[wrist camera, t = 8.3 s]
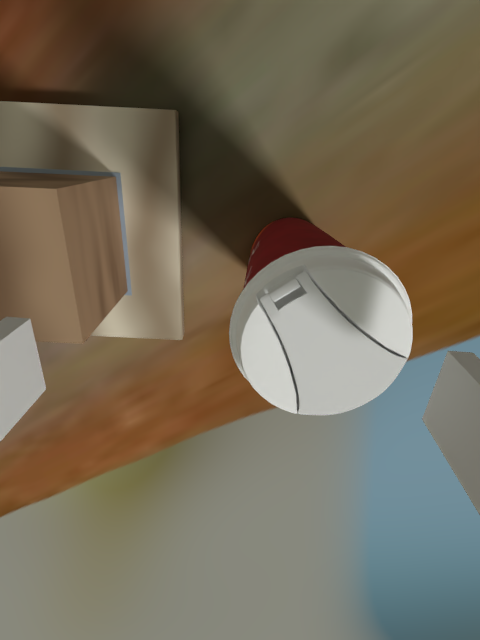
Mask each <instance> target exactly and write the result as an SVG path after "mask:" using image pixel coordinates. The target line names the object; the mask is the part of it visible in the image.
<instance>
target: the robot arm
mask: <svg viewBox="0 0 480 640" xmlns="http://www.w3.org/2000/svg"><path fill="white" fill-rule="evenodd" d="M45 390H46V386H45V382H44V377H43V373H42V369H41V364H40V360H39V355H38V351H37V346H36V342H35V337H34V333H33V329H32V324H31V320H30V318H17V317H5V318H4V319H2V320H1V321H0V441H1V440H2V439H3V438H4V437H5V435H6V434H7V433H8V432H9V431H10V430H11V429H12V427H13V426H14V425H15V424H16V423H17V422H18V421H19V419H20V418H21V417H22V416H23V415H24V414H25V413H26V411H27V410H28V409H29V408H30V407H31V406H32V405H33V403H34V402H35V401H36V400H37V399H38V398H39V397H40V395H41V394H42V393H43V392H44V391H45ZM422 420H423V421H424V423H425V425H426V426H427V428H428V430H429V431H430V433H431V435H432V436H433V438H434V440H435V441H436V443H437V445H438V446H439V448H440V450H441V451H442V453H443V455H444V456H445V458H446V460H447V461H448V463H449V465H450V466H451V468H452V470H453V471H454V473H455V475H456V476H457V478H458V479H459V481H460V483H461V485H462V486H463V488H464V490H465V491H466V493H467V495H468V496H469V498H470V500H471V501H472V503H473V505H474V506H475V508H476V510H477V511H478V513H479V514H480V359H479V358H478V357H476V355H475V354H474V353H470V352H457V351H448V353H447V355H446V358H445V360H444V363H443V366H442V368H441V371H440V373H439V376H438V379H437V382H436V384H435V387H434V389H433V392H432V395H431V397H430V400H429V402H428V405H427V408H426V411H425V413H424V416H423V418H422Z"/></svg>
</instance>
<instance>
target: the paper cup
mask: <svg viewBox="0 0 480 640" xmlns="http://www.w3.org/2000/svg"><path fill="white" fill-rule="evenodd" d="M229 337H230V347H231V350H232V354H233V358H234V360H235V362H236V364H237V366H238V368H239V370H240V371H241V373H242V374H243V375H244V377H245V378H246V379H247V380H248V381H249V382H250V384H251V385H252V387H253V388H254V389H255V390H256V391H257V392H258V393H259V394H260V395H261V396H262V397H263V398H265V399H266V400H267V401H269V402H270V403H271V404H273V405H275V406H277V407H279V408H281V409H283V410H286V411H288V412H291V413H295V414H297V411H298V414H305V415H332V414H339V413H343V412H346V411H349V410H352V409H354V408H357V407H359V406H361V405H363V404H365V403H367V402H369V401H371V400H372V399H374V398H375V397H377V396H378V395H380V394H381V393H382V392H383V391H385V390H386V388H388V387H389V386H390V385H391V383H392V382H393V381H394V379H395V378H396V377H397V375H398V374H399V372H400V371H401V369H402V367H403V366H404V364H405V363H406V361H407V358H408V357H409V354H410V351H411V345H412V310H411V305H410V300H409V297H408V295H407V293H406V290H405V288H404V286H403V285H402V283H401V282H400V280H399V278H398V277H397V276H396V275H395V274H394V273H393V272H392V271H391V270H390V269H389V267H388V266H386V265H385V264H383V263H382V262H381V261H379V260H378V259H376V258H375V257H373V256H370V255H368V254H366V253H364V252H362V251H358V250H355V249H351V248H348V247H345V246H344V245H342V244H341V243H340V242H338V241H337V240H335V239H334V238H332V237H331V236H330V235H328V234H327V233H325V232H324V231H322V230H321V229H319V228H318V227H316V226H315V225H313V224H311V223H309V222H307V221H305V220H302V219H299V218H282V219H279V220H276V221H274V222H272V223H270V224H268V225H267V226H266V227H265V228H263V229H262V230H261V232H260V233H259V234H258V236H257V237H256V239H255V241H254V243H253V246H252V249H251V253H250V258H249V262H248V268H247V273H246V278H245V284H244V289H243V291H242V292H241V294H240V296H239V298H238V300H237V302H236V304H235V306H234V309H233V312H232V316H231V320H230V329H229ZM406 357H407V358H406Z"/></svg>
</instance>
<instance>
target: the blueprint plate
mask: <svg viewBox="0 0 480 640" xmlns="http://www.w3.org/2000/svg"><path fill="white" fill-rule="evenodd" d="M0 171H4V172H26V173H47V174H69V175H90V176H112V177H116V182H117V192H118V202H119V211H120V221H121V231H122V240H123V250H124V260H125V269H126V279H127V289H128V291H127V293H126V294H125V295H124V296H123V297H122V298H121V300H120V301H119V302H118V303H117V304H116V306H115V307H114V308H113V309H112V310H111V311H110V313H109V314H108V315H107V316H106V317H105V319H104V320H103V321H102V322H101V323H100V325H99V326H98V327H97V328H96V329H95V330H94V332H93V333H92V334H91V335H90V336H110V337H131V338H151V339H172V340H182V338H183V335H184V302H183V264H182V227H181V189H180V152H179V114H178V111H176V110H166V109H146V108H127V107H107V106H87V105H67V104H48V103H28V102H8V101H0Z"/></svg>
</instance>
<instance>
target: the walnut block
mask: <svg viewBox="0 0 480 640" xmlns="http://www.w3.org/2000/svg"><path fill="white" fill-rule="evenodd" d="M127 291H128V289H127V279H126V269H125V260H124V250H123V240H122V231H121V221H120V211H119V202H118V192H117V182H116V177H112V176H90V175H69V174H47V173H26V172H4V171H0V321H1V320H2V319H4V318H5V317H17V318H30V320H31V324H32V329H33V333H34V337H35V342H57V343H79V344H83V343H84V342H85V341H86V340H87V339H88V338H89V336H90V335H91V334H92V333H93V332H94V330H95V329H96V328H97V327H98V326H99V325H100V323H101V322H102V321H103V320H104V319H105V317H106V316H107V315H108V314H109V313H110V311H111V310H112V309H113V308H114V307H115V306H116V304H117V303H118V302H119V301H120V300H121V298H122V297H123V296H124V295H125V294H126V293H127Z"/></svg>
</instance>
